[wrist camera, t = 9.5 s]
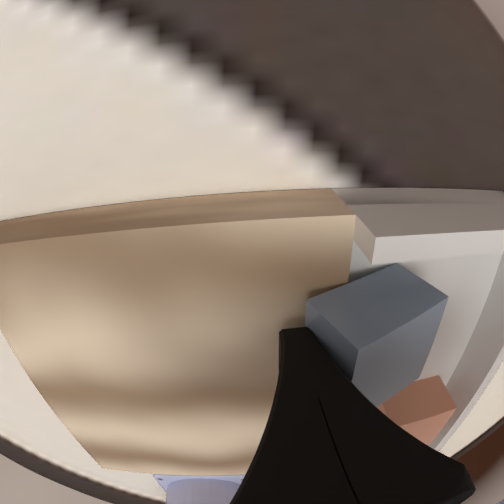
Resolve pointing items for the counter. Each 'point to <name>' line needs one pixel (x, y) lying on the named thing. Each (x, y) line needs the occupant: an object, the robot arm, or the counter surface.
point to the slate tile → (378, 329)
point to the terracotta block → (421, 408)
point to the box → (442, 275)
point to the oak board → (168, 318)
